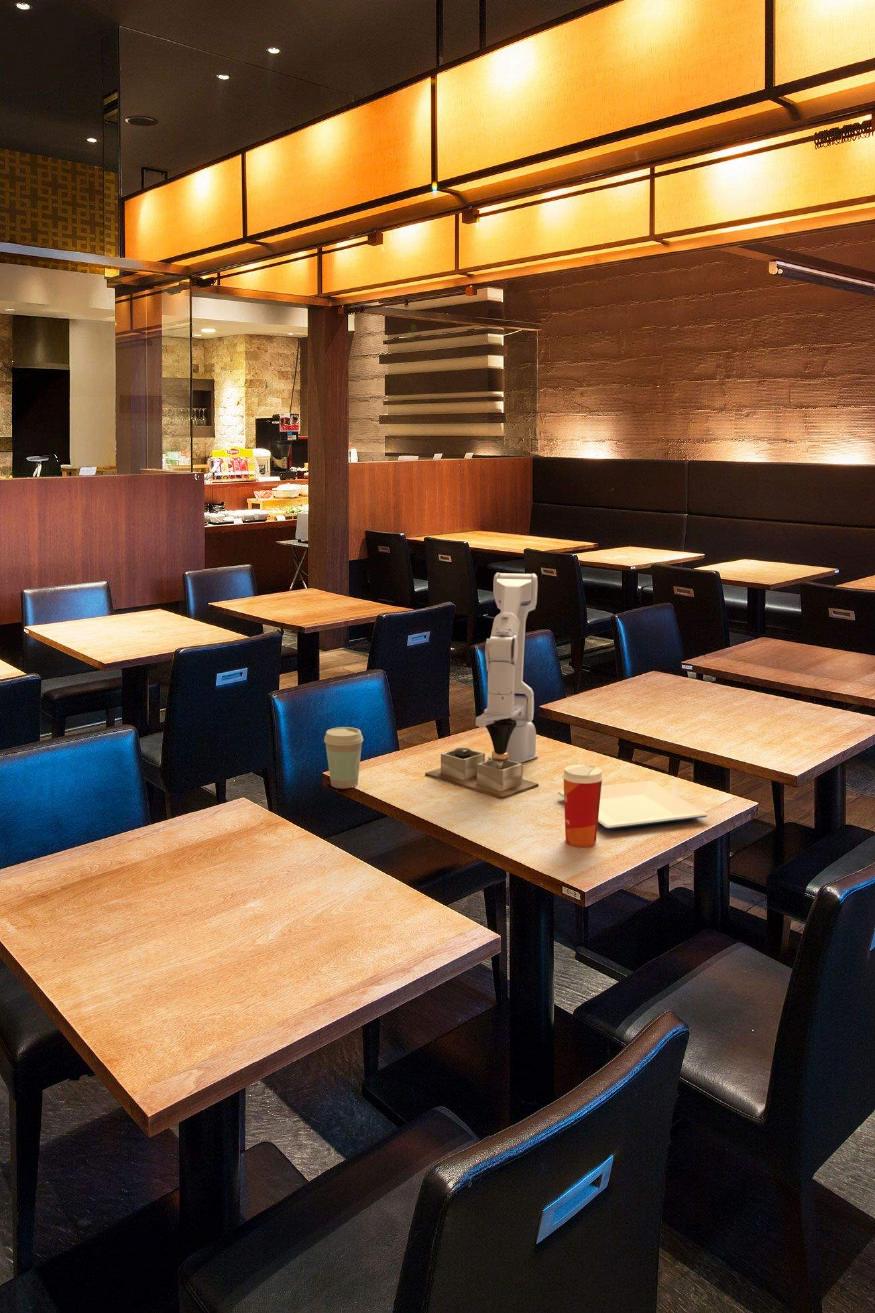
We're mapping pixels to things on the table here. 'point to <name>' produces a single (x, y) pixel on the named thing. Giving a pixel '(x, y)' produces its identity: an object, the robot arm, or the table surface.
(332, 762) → the coffee cup
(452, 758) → the press stand
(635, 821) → the plate
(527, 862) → the table surface
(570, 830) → the paper cup
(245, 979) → the table surface
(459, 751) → the black plunger
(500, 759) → the copper plunger
